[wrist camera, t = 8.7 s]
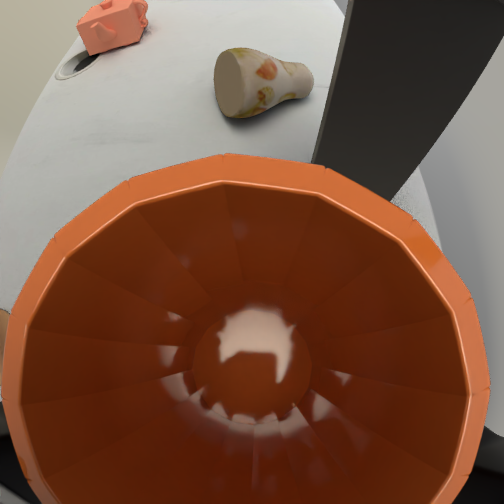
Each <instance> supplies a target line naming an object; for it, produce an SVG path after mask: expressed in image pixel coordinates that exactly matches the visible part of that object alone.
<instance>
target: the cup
mask: <svg viewBox="0 0 504 504" xmlns="http://www.w3.org/2000/svg"><path fill="white" fill-rule="evenodd" d="M470 297H471V293H470V291H469V290H468V288H467V287H466V285H465V284H464V282H463V281H462V279H461V278H460V276H459V275H458V274H457V272H456V271H455V269H454V268H453V266H452V265H451V264H450V262H449V261H448V259H447V258H446V257H445V255H444V254H443V253H442V251H441V250H440V249H439V247H438V246H437V245H436V243H435V242H434V241H433V240H432V238H431V237H430V236H429V234H428V233H427V232H426V231H425V229H424V228H423V227H422V226H421V224H420V223H419V222H418V221H417V220H416V219H414V220H413V217H412V215H410V214H409V213H407V212H405V211H404V210H402V209H401V208H399V207H397V206H396V205H394V204H392V203H391V202H389V201H387V200H386V199H384V198H382V197H381V196H379V195H377V194H376V193H374V192H372V191H370V190H369V189H367V188H365V187H363V186H362V185H360V184H358V183H356V182H354V181H353V180H351V179H349V178H347V177H345V176H343V175H342V174H340V173H338V172H336V171H334V170H332V169H330V168H326V169H325V166H323V165H317V164H310V163H304V162H297V161H290V160H283V159H275V158H267V157H259V156H250V155H240V154H230V153H226V154H224V156H223V155H222V154H218V155H214V156H209V157H205V158H201V159H197V160H193V161H189V162H185V163H181V164H177V165H174V166H170V167H166V168H163V169H159V170H155V171H152V172H149V173H145V174H142V175H138V176H135V177H132V178H130V179H129V180H128V181H127V180H125V181H123V182H122V183H120V184H119V185H117V186H116V187H115V188H113V189H112V190H110V191H109V192H108V193H106V194H105V195H104V196H102V197H101V198H99V199H98V200H97V201H95V202H94V203H93V204H92V205H90V206H89V207H88V208H86V209H85V210H84V211H82V212H81V213H80V214H79V215H77V216H76V217H75V218H74V219H72V220H71V221H70V222H69V223H67V224H66V225H65V226H64V227H63V228H61V229H60V230H59V231H58V232H57V233H56V234H55V235H54V238H52V239H51V240H50V241H49V243H48V245H47V246H46V248H45V249H44V251H43V253H42V254H41V256H40V258H39V259H38V261H37V263H36V264H35V266H34V268H33V270H32V271H31V273H30V275H29V277H28V279H27V280H26V282H25V284H24V286H23V288H22V290H21V292H20V294H19V296H18V298H17V300H16V302H15V304H14V306H13V308H12V310H11V314H10V315H9V320H8V326H7V332H6V339H5V347H4V356H3V367H2V381H1V397H2V398H3V399H2V405H3V409H4V413H5V417H6V421H7V425H8V429H9V432H10V436H11V439H12V443H13V446H14V449H15V452H16V455H17V458H18V461H19V464H20V466H21V469H22V472H23V474H24V477H25V478H26V479H27V482H28V484H29V486H30V487H31V489H32V490H33V492H34V493H35V495H36V496H37V497H38V499H39V500H40V502H41V503H42V504H452V503H453V501H454V500H455V498H456V497H457V495H458V494H459V492H460V491H461V489H462V488H463V486H464V485H465V483H466V482H467V480H468V478H469V476H468V475H469V474H470V473H471V472H472V469H473V466H474V462H475V459H476V456H477V452H478V449H479V445H480V441H481V437H482V433H483V428H484V424H485V419H486V414H487V409H488V403H489V397H490V388H489V387H490V384H491V382H490V375H489V368H488V362H487V356H486V351H485V346H484V341H483V336H482V332H481V327H480V323H479V319H478V315H477V311H476V307H475V304H474V300H473V298H470Z"/></svg>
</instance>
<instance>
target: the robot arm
mask: <svg viewBox="0 0 504 504" xmlns="http://www.w3.org/2000/svg"><path fill="white" fill-rule="evenodd" d="M468 476H469V478H468V480H467V482H466V483H465V485H464V486H463V488H462V489H461V491H460V492H459V494H458V495H457V497H456V498H455V500H454V501H453V503H452V504H504V437H501V436H499V435H497V434H495V433H494V432H492V431H491V430H489V429H488V428H487V427H485V426H484V428H483V433H482V437H481V441H480V445H479V449H478V452H477V456H476V459H475V462H474V466H473V469H472V472H471V473H470V474H469V475H468ZM0 504H42V503H41V502H40V500H39V499H38V497H37V496H36V495H35V493H34V492H33V490H32V489H31V487H30V486H29V484H28V482H27V479H26V478H25V477H24V474H23V472H22V469H21V466H20V464H19V461H18V458H17V455H16V452H15V449H14V446H13V443H12V439H11V436H10V432H9V429H8V425H7V421H6V417H5V413H4V409H3V405H2V401H1V402H0Z"/></svg>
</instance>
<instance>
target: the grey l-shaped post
mask: <svg viewBox="0 0 504 504" xmlns="http://www.w3.org/2000/svg"><path fill="white" fill-rule="evenodd" d="M503 36H504V0H348V5H347V10H346V15H345V20H344V25H343V29H342V34H341V39H340V43H339V48H338V53H337V57H336V62H335V66H334V70H333V75H332V79H331V83H330V88H329V92H328V96H327V100H326V104H325V109H324V113H323V117H322V121H321V125H320V129H319V133H318V137H317V141H316V145H315V149H314V153H313V157H312V160H311V164H317V165H323V166H325V169H326V168H330V169H332V170H334V171H336V172H338V173H340V174H342V175H343V176H345V177H347V178H349V179H351V180H353V181H354V182H356V183H358V184H360V185H362V186H363V187H365V188H367V189H369V190H370V191H372V192H374V193H376V194H377V195H379V196H381V197H382V198H384V199H386V200H387V201H389V202H390V201H391V200H392V198H393V197H394V196H395V195H396V193H397V192H398V191H399V189H400V188H401V187H402V186H403V184H404V183H405V182H406V181H407V179H408V178H409V177H410V175H411V174H412V173H413V172H414V170H415V169H416V168H417V166H418V165H419V164H420V162H421V161H422V159H423V158H424V157H425V156H426V154H427V153H428V152H429V150H430V149H431V148H432V146H433V145H434V143H435V142H436V141H437V139H438V138H439V136H440V135H441V134H442V132H443V131H444V129H445V128H446V126H447V125H448V123H449V122H450V121H451V119H452V118H453V117H454V115H455V114H456V112H457V111H458V109H459V108H460V106H461V105H462V103H463V102H464V100H465V99H466V97H467V96H468V94H469V92H470V91H471V90H472V88H473V86H474V85H475V83H476V82H477V80H478V78H479V77H480V75H481V74H482V72H483V70H484V69H485V67H486V66H487V64H488V62H489V61H490V59H491V57H492V55H493V54H494V52H495V50H496V48H497V47H498V45H499V43H500V41H501V40H502V38H503Z"/></svg>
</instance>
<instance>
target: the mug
mask: <svg viewBox="0 0 504 504" xmlns="http://www.w3.org/2000/svg"><path fill="white" fill-rule="evenodd" d="M313 85H314V78H313V75H312V73H311V71H310V70H309V69H308V67H307V66H305V65H304V64H302V63H292V62H284V61H281V60H278V59H276V58H274V57H271V56H269V55H267V54H264V53H262V52H260V51H257V50H253V49H249V48H233V49H228V50H226V51H224V52H222V53H221V54H220V55H219V57H218V58H217V61H216V65H215V69H214V88H215V94H216V98H217V101H218V104H219V107H220V109H221V111H222V113H223V114H224V115H225V116H227V117H233V118H247V117H251V116H255V115H257V114H260V113H262V112H264V111H266V110H267V109H269V108H271V107H273V106H274V105H276V104H278V103H280V102H282V101H284V100H287V99H294V98H304V97H306V96H308V95H309V93H310V92H311V90H312V88H313Z"/></svg>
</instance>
